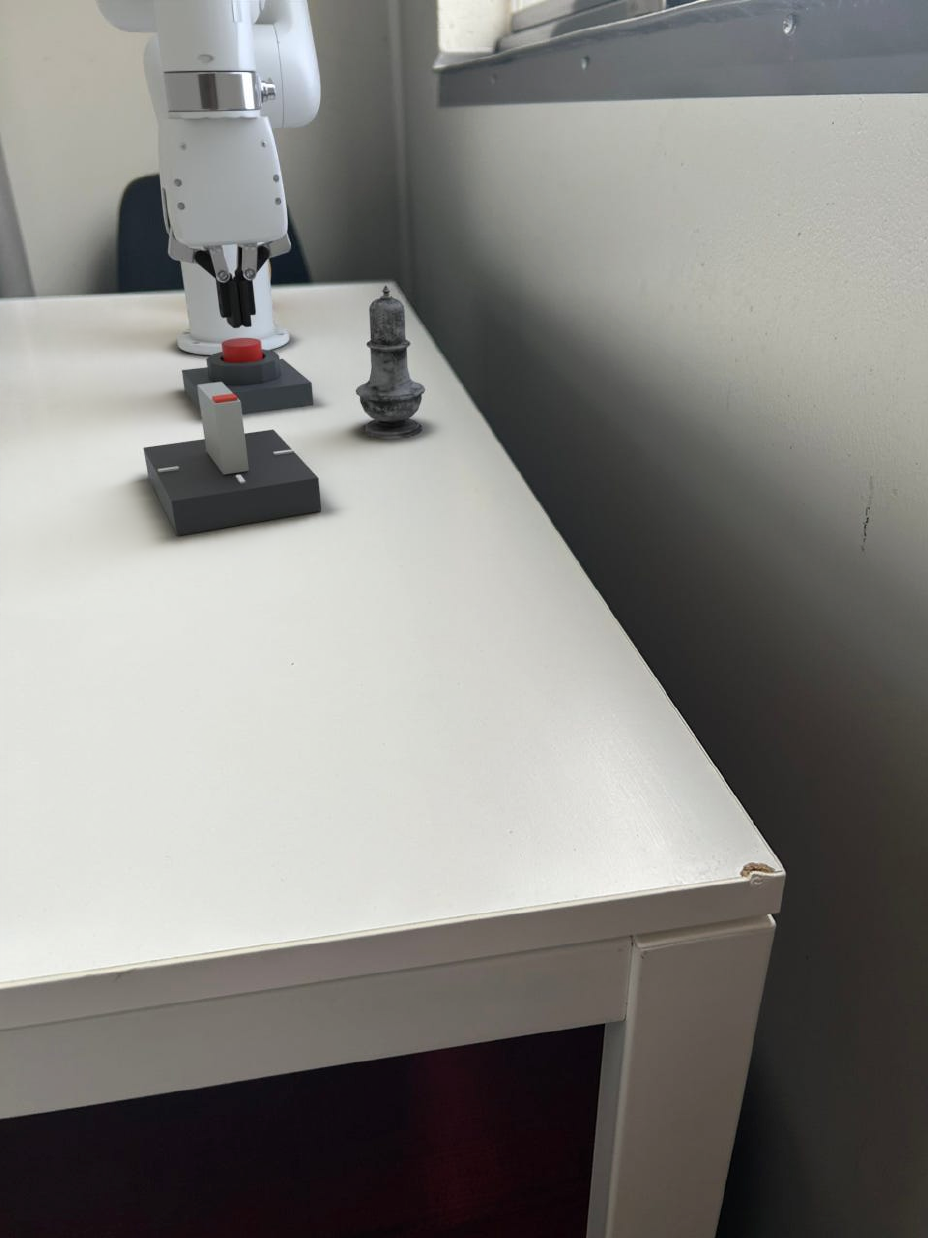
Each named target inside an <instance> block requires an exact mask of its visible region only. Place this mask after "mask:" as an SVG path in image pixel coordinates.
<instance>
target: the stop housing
mask: <svg viewBox="0 0 928 1238" xmlns="http://www.w3.org/2000/svg"><path fill="white" fill-rule="evenodd" d="M262 356H263V359H261V360H257V361H253V362H244V363H230V362H225V361H224V360H223V352H219V353H216V354H212V355H209V356H208V357H207V358H206V359H205V361H206V366H205V367H197V368H188V369H181V375H182V382H183V389H184V393H185V394H186V396H187V397H188V399H190V401H191V402H192V403H193V405H194V407H196V409H197V410H198V411H199V413H200V414H201V409H200V402H199V395H198V388H197V385H200V384H208V383H216V382H222V383H223V384H224V385H225V386H226V387H227V388H228V389H229V390H230V391H231V392H232V393H234V394H235V395H236V396H237V398H238V399H239V400H240V401H241V409H242V416H243V415H251V414H259V413H266V412H273V411H274V412H275V411H281V410H289V409H297V408H303V407H311V406H314V395H313V383H312V381H310V380H309V379H308V378H307V377H306V376H304V375H303V374H302V373H301V372H299V371H298V370H297V369H296V368H295V367H293V366H292V364H290V363H289V362H287V361H286V360H285V359H284V358H280V355H279V354H278V353H277V352H276V351H273V350H264V349H262Z"/></svg>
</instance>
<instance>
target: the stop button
mask: <svg viewBox="0 0 928 1238" xmlns="http://www.w3.org/2000/svg"><path fill="white" fill-rule="evenodd" d="M222 352H223V360H224V361H225V362H230V363H244V362H253V361H257V360H261V359H263V356H262V347H261V341H260V340H259V339H255V338H235V339H229V340H226V341H224V342H222Z"/></svg>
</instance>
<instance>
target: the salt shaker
mask: <svg viewBox="0 0 928 1238" xmlns="http://www.w3.org/2000/svg"><path fill="white" fill-rule="evenodd" d="M381 292H382V293H383V295H381V296H380V297H379V298H376V299H374V300H373V301H372V302H371V304H370V305H369V309H368V311H369V312H368V313H369V314H368V315H369V330H370V331H369V332H370V339H369V341H367V343H366V347H367V348H369V349H370V350H369V351H370V363H371V364H370V366H371V369H370V375H369V380H368V381H367V382H365V383H362V384H360V385H359V386H357V387H356V389H355V394H356V395H357V396H358V397H359V402H360V405H361V407H362V409H363V411H364V413H365V414H366V415H368V416H369V417H370V418H371V420H370V421H368V422H367V423H366V424H365V425H363V426H362V428H361V432H362V434H363V435H365V436H367V437H370V438H373V439H380V440H381V439H382V440H397V439H399V440H400V439H407V438H410V437H415V436H417V435H419V434H420V433H422V431H423V429H424V426H423V425H421V424H420V423H419V422H417V420H414V419H412V417H413V416H414V415H415V414H416V413H417V412H418V410H419V409H420V406H421V403H422V400H423V397H422V395H423V394H425V391H426V388H425V386H424V385H423V384H422V383H419V382H416V381H414V380H412V378H411V376H410V373H409V372H410V371H409V367H408V348H409V347H410V346H411V342H410V341H409V340H408V339H406V314H405V313H406V311H405V306H404V304H403V303H402V301H401V300H399V299H398V298H395V297H393V296H392V295H390V292H391V290H390V289H389V287H388V286H387V285H384V287H383V289H381Z"/></svg>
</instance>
